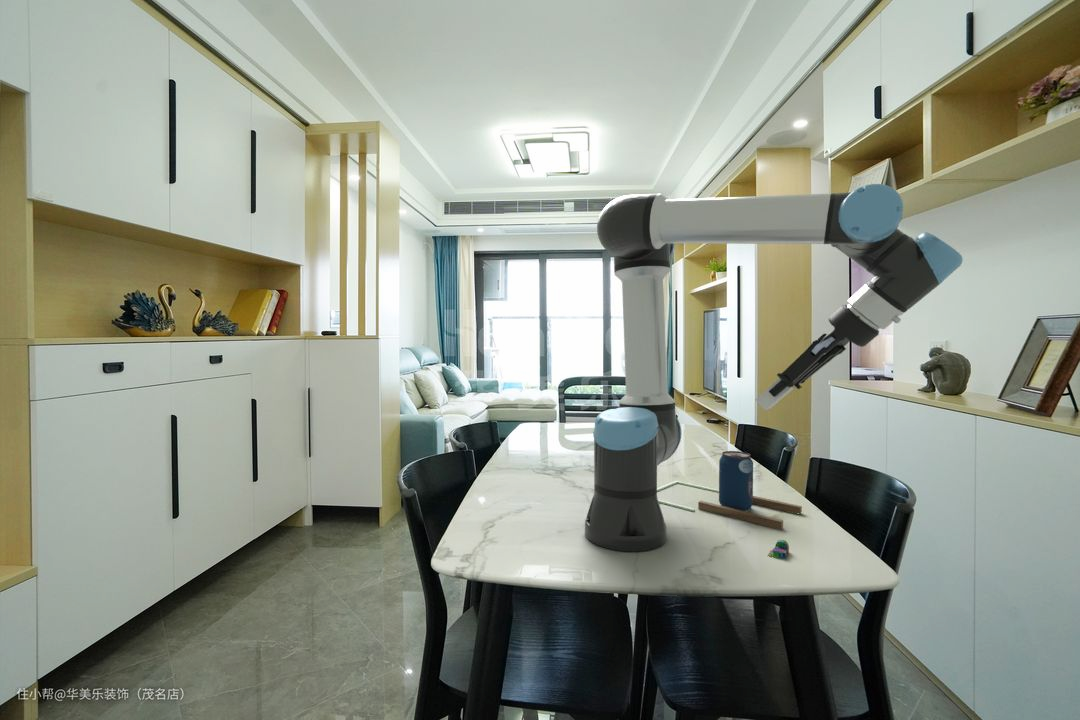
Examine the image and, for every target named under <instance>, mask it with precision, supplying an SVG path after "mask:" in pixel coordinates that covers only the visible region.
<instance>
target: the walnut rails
mask: <svg viewBox="0 0 1080 720" xmlns="http://www.w3.org/2000/svg"><path fill="white" fill-rule="evenodd" d="M697 504H698V505H697V507H698V510H702V511H705V512H709V513H714V514H718V515H722V516H726V517H730V518H734V519H737V520H741V521H745V522H749V523H753V524H757V525H761V526H765V527H769V528H772V529H777V530H783V528H784V519H783V520H782V519H778V518H775V517H770V516H765V515H762V514H757V513H753V512H749V511H742V510H738V509H733V508H729V507H725V506H721V504H716V503H712V502H708V501H703V500H699V501H698V503H697ZM753 505H755V506H761V507H766V508H768V509H769V508H770V509H775V510H779V511H784V512H786V511H787V513H791V512H793V513H792V514H795V513H799V514H798V515H801V514H802V513H801V512H803V510H802V509H803V506H802V505H798V504H793V503H789V502H784V501H780V500H775V499H771V498H765V497H761V496H756V495H753ZM800 513H801V514H800Z"/></svg>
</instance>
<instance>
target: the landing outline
mask: <svg viewBox="0 0 1080 720" xmlns="http://www.w3.org/2000/svg"><path fill="white" fill-rule="evenodd" d="M676 484H680V485H684V486H689V487H692V488H697V489H702V490H705V491H711V492H715V493H716V492H717V493H719V488H717V489H716V488H712V487H708V486H703V485H699V484H694V483H689V482H683V481H681V480H674V481H671V482H669V483H667V484H664V485H662V486H658V487H657V492H660V491H662V490H665V489H667V488H669V487H672V486H675V485H676ZM658 501H659V504H663V505H665V506H670V507H673V508H677V509H682V510H686V511H690V512H695V511H696V510H695V508H693V507H689V506H686V505H681V504H679V503H673V502H671V501H670V502H669V501H666V500H662V499H658Z"/></svg>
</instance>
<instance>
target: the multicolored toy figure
mask: <svg viewBox="0 0 1080 720" xmlns="http://www.w3.org/2000/svg"><path fill="white" fill-rule="evenodd" d="M789 545H790V544H789V543H788V542H787V541H786V540H784V539H779V540H777V542H776V543H775V546H774V547H773V549H772V550H770V551H769V552H770V553H768V554H767V557H768V556H769V557H768V558H772V557H773V559H776V560H779V559H784V560H786V558H787V557H788V555H789V553H790V551H789V550H790V546H789Z"/></svg>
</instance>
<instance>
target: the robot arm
mask: <svg viewBox="0 0 1080 720" xmlns="http://www.w3.org/2000/svg"><path fill="white" fill-rule="evenodd" d="M903 213H904V202H903V199H902V197H901V195H900V193H899V192H898V191H897V190H895V189H894V188H893V187H891V186H889V185H887V184H884V183H882V184H881V183H871V184H866V185H863V186H861V187H858V188H857V189H854V190H853V191H851V192H835V193H812V194H811V193H807V194H786V195H785V194H784V195H759V196H757V195H755V196H753V195H752V196H729V197H727V196H726V197H701V198H675V199H674V198H673V199H668V198H667V197H666V196H665V195H664V194H663V193H648V194H644V193H643V194H628V195H622V196H618V197H617V198H615V199H613V200H611V201H610V202H609V203H608V204H606V205H605V207H604V208H602V211H601V212H600V214H599V217H598V218H597V219H598V220H597V225H596V231H597V232H596V233H597V237H598V240H599V242H600V244H601V246H602V247H603V248H604V250H606V251H607V252H608V253H609V254H611V255H612V256H613V267H614V271H613V272H614V276H615V277H616V278H617V279H619V280H620V282H621V288H622V289H621V291H622V316H623V317H622V319H623V343H624V344H623V345H624V349H623V350H624V368H625V369H624V371H625V372H624V373H625V375H624V376H625V393H624V396H622V397H621V399H620V400H619V402H618V407H617V408H610V409H606V410H604V411H602V412H600V413H599V414H597V416H596V418H595V420H594V430H593V435H592V436H593V450H594V451H593V465H594V466H593V470H594V471H593V472H594V473H593V474H594V475H593V478H594V479H593V480H594V481H593V483H594V485H593V486H594V487H593V488H594V492H593V495H592V499H591V502H590V505H589V507H588V512H587V513H586V518H585V519H584V520H585V521H584V535H585V538H587V539H588V541H590V542H591V543H592V544H594V545H597V546H600V547H602V548H605V549H609V550H613V551H620V552H645V551H651V550H654V549H657V548H660V547H661V546H662V545H664V544H665V543H666V541H667V524H666V521H665V518H664V515H663V512H662V509H661V505H660V503H659V501H658V500H659V498H658V491H657V488H658V466H659V465H660V464H661V463H663V462H665V461H667V460H669V459H670V458H671V457H672V456H673V455H674V454H675V453H676V451H677V449H678V448H679V445H680V443H681V439H682V426H681V424H680V421H679V418H678V417H677V415H676V414H677V413H676V400H675V398H673V397H672V396H671V395H670V394H669V393H668V376H667V375H668V374H667V371H668V370H667V350H666V349H667V345H666V343H667V342H666V325H665V324H666V322H665V321H666V318H665V316H666V315H665V295H664V294H665V293H664V289H665V288H664V279H665V278H666V276H667V275H668V274H669V273H670V272H671V255H672V253H673V251H674V250H675V245H676V244H690V245H691V244H699V245H700V244H703V245H704V244H707V245H708V244H714V245H715V244H717V245H718V244H725V245H726V244H727V245H728V244H733V245H734V244H736V245H737V244H744V245H747V244H748V245H749V244H750V245H752V244H753V245H754V244H755V245H758V244H761V245H762V244H763V245H766V244H767V245H768V244H769V245H771V244H772V245H773V244H774V245H777V244H778V245H787V244H788V245H790V244H791V245H794V244H796V245H799V244H800V245H801V244H802V245H830V246H831V247H833V248H835V249H837V250H839V251H840V252H841V253H843V254H844V255H845V256H846V257H848V258H849V259H851V260H852V261H854V262H855V263H856V264H857V265H859V266H861V267H862V268H863V269H865V270H866V271H867V272H868V273H870V274H871V275H872V276H873V277H872V278H871V279H870V280H868V281H867V282H866V283H865V284H864V285H863V286H862V287H860V288H859V289H858V290H857V291H856V292H854V294H852V296H850V297H849V298H848V299H847V304H842V305H841V306H839V308H837V309H836V310H835V311H834V312H833V313H832V314H831V315H830V316H829V317H828V322H829V324H830V325H831V326H832V327H833V328H834V329H833V330H831V331H829V333H828V334H827V333H822V335H820V336H819V337H818V339H815V340H813V341H812V343H811V344H810V345H808V347H807V348H806V349H805V351H804V352H802V354H800V355H799V357H797V358H795V360H794V361H793V362H792V363H791V364H790V365H789V366H788V367H787V368H786V369H785V370H784V371H782V372H781V373H779V372H778V373H777V374H776V376H777V377H778V379H777V380H776V381H775V382H773V383H772V384H771V385H770V386H769V387H768V388H766V389H765V390H764V391H763V392H762V393H761V394H760V395H759V396H757V397H756V398H755V401H756V403H758V405H760V406H761V408H762V409H763V410H765V411H767V410H770V409H771V408H773V406H775V405H776V404H777V403H778V402H780V401H781V400H782V399H783V398H784V397H786V395H788V394H789V393H790V392H791V391H793V390H794V389H795V388H796V389H797V390H800V389H801V388H802V386H801V385H800V384H804V383H805V382H806V381H807V380H808V379H810V377H812V376H813V375H814V374H816V373H817V372H819V370H821V369H822V368H823V367H824V366H825V365H827V364H828V363H830V362H831V361H832V360H833V359H834V358H836V357H837V356H838V355H841V354H843V352H844V351H846V350H847V347H845V346H847V345H848V343H849V342H851V343H852V344H853V345H856V346H858V347H861V348H862V347H863V348H864V347H865V346H867V345H868V344H869V343H870V342H872V341H873V340H874V339H875V338H877V337H878V336H879V333H880V330H886V329H887V328H888V327H889V326H890V325H891V324H892V323H895V324H899V323H900V322H901V320H902V319H901V318H900V316H902V315H903V314H904V313H906V312H907V311H908V310H911V308H912V307H914V306H915V305H916V304H917V303H919V302H920V301H921V300H923V298H925V297H926V296H927V295H928V294H930V293H931V292H932V291H933V290H934V289H936V288H937V287H938V286H940V285H941V284H942V283H943V282H944V281H945V280H946V279H947V278H949V277H950V276H951V275H952V274H953V273H954V272H955V271H956V270H957V269H959V268H960V267H961V265H962V263H963V261H964V260H963V259H964V258H963V256H962V254H961V252H959V251H957V250H956V249H955V248H953V246H951V245H949V244H948V243H946V242H945V241H943V240H942V239H940V238H938V236H935V234H932V233H930V232H927V231H926V232H923V233H921V234H920V235H917V236H915V238H913V237H911V236H909V235H907V234H906V233H904V232H903V231H902V230H900V229H899V225H900V223H901V222H902V220H903ZM879 329H880V330H879Z"/></svg>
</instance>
